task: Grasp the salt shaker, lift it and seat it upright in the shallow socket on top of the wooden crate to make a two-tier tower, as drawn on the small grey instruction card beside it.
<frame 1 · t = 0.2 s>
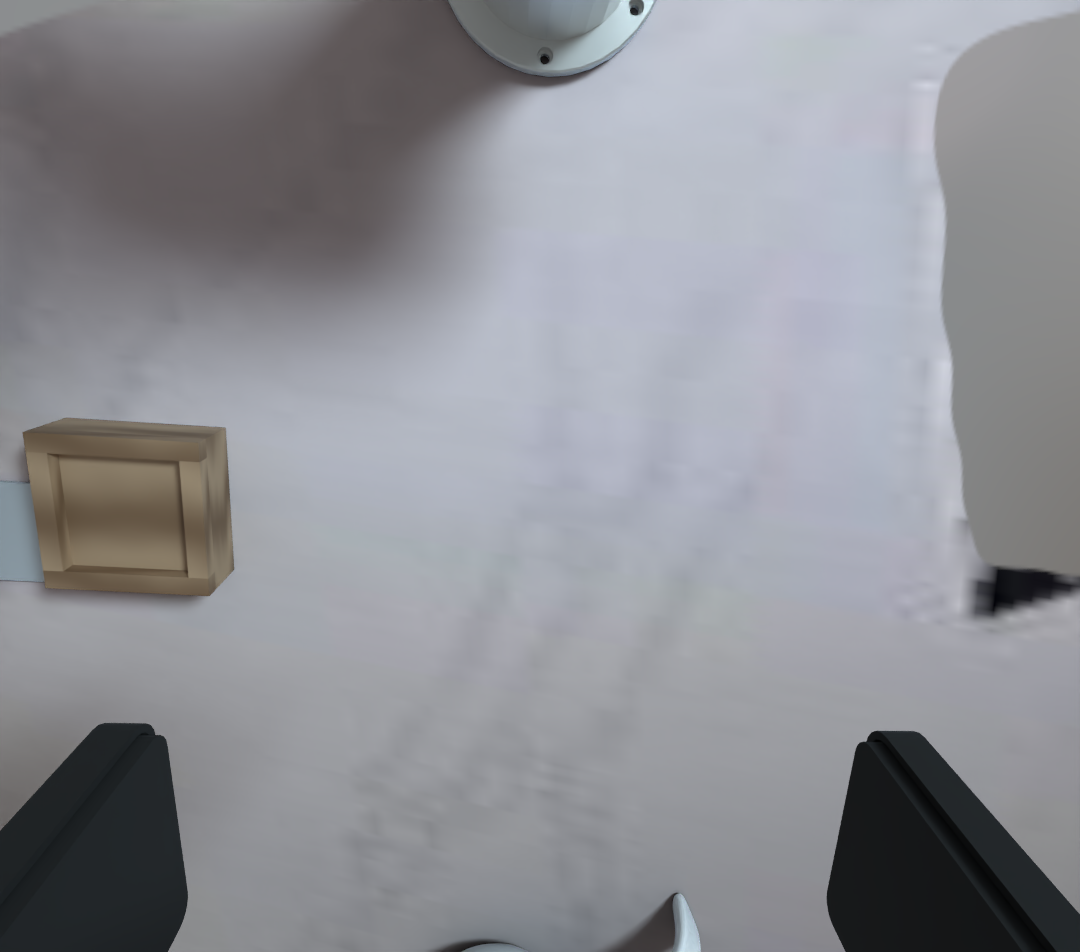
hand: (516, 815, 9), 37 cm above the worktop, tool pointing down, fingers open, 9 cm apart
wooden crate: (152, 496, 46), on the worktop
spoon rest: (557, 945, 59), on the worktop
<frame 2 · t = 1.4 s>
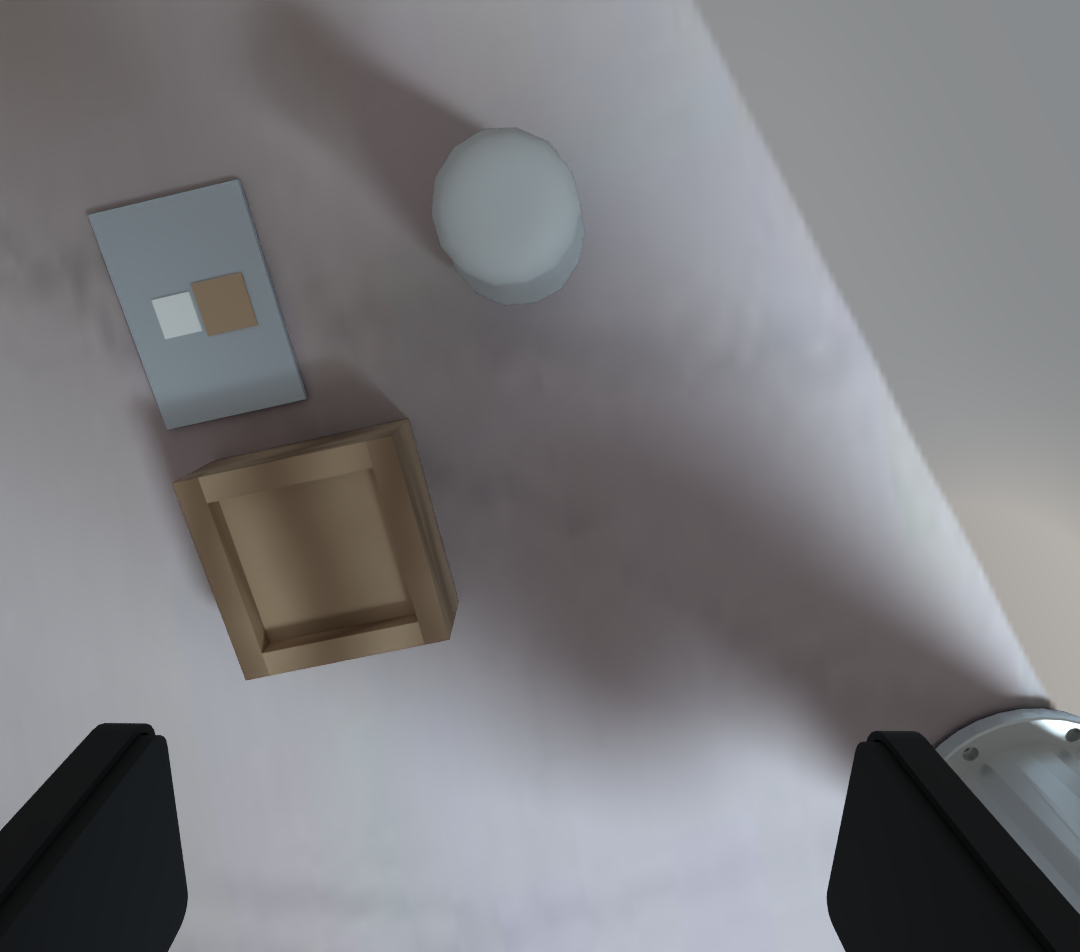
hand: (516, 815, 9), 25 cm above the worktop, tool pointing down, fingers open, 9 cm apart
wooden crate: (339, 533, 35), on the worktop
salt shaker: (517, 238, 32), on the worktop
instruction card: (203, 310, 32), on the worktop
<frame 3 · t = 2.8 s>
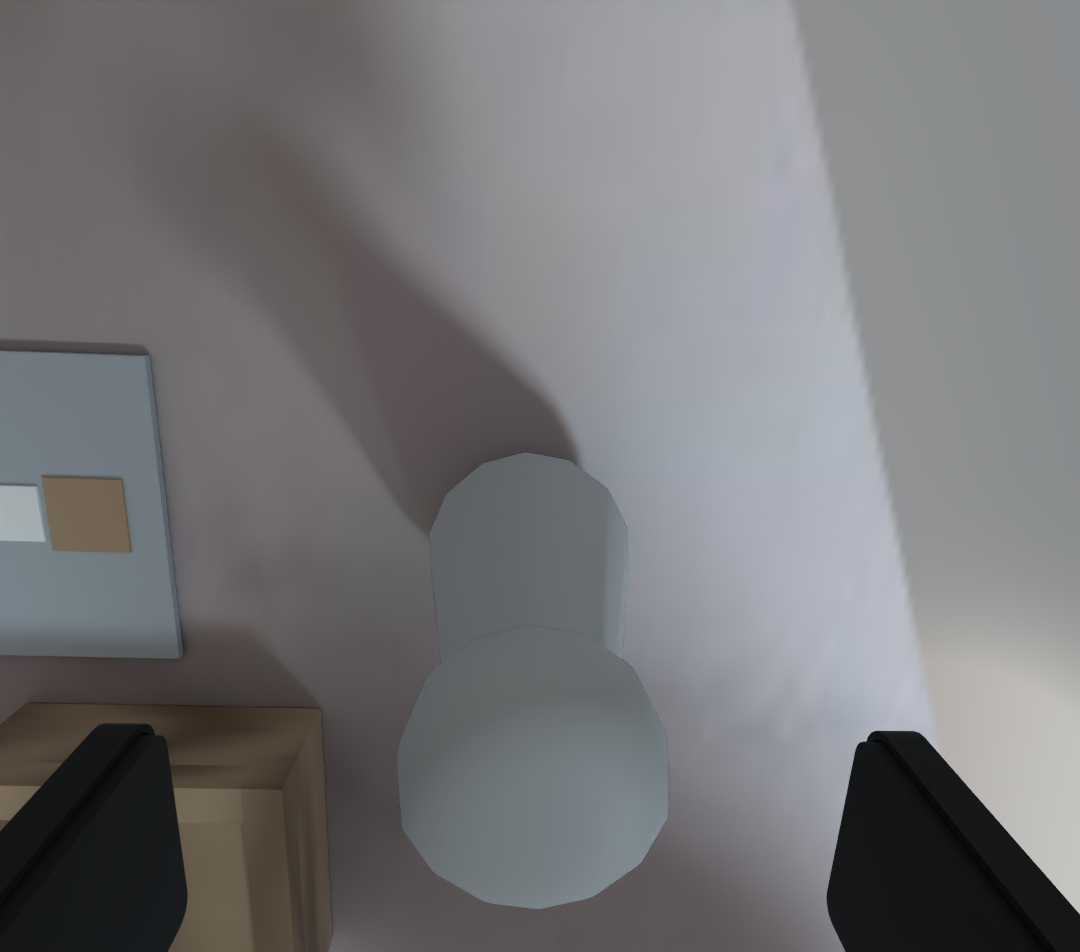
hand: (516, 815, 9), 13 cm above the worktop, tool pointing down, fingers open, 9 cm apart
wooden crate: (188, 825, 25), on the worktop
salt shaker: (528, 521, 22), on the worktop
instruction card: (55, 510, 22), on the worktop
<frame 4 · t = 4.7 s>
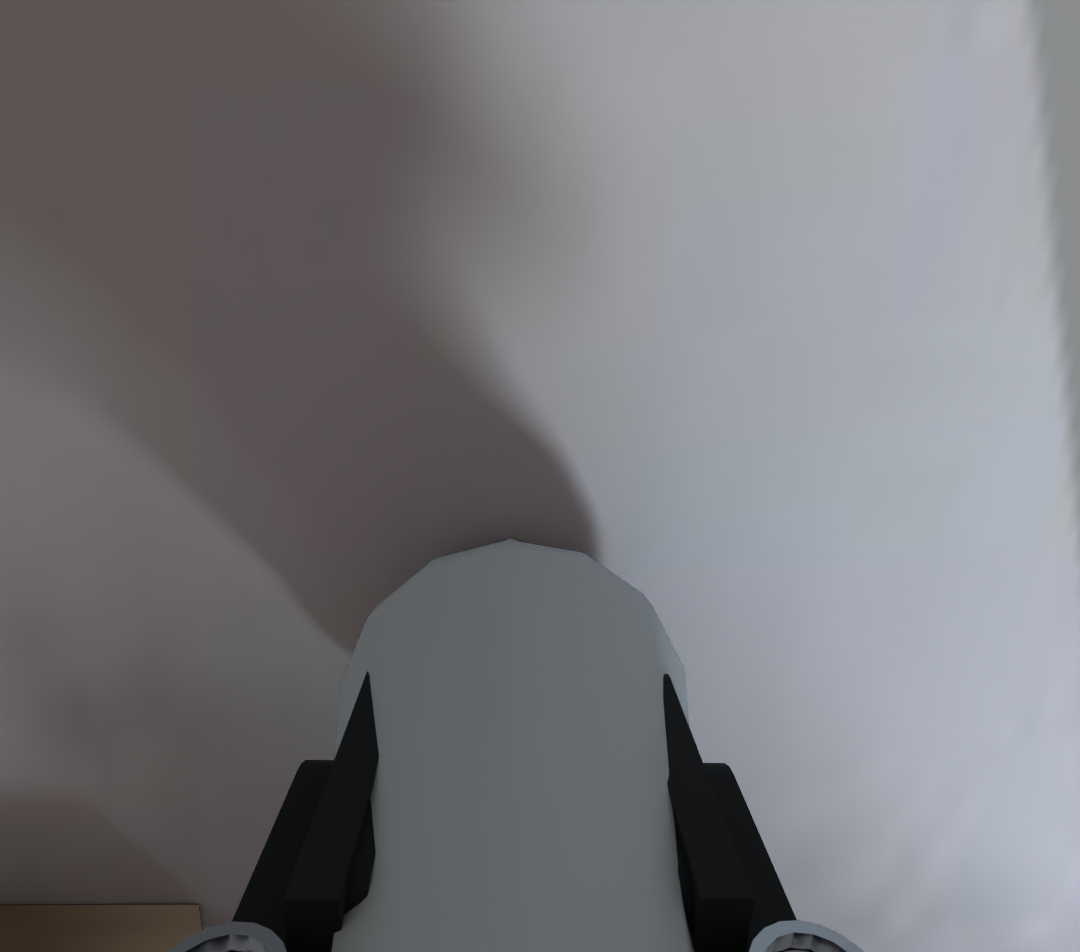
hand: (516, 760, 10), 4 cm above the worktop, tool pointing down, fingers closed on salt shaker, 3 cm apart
salt shaker: (515, 630, 14), on the worktop, touching gripper
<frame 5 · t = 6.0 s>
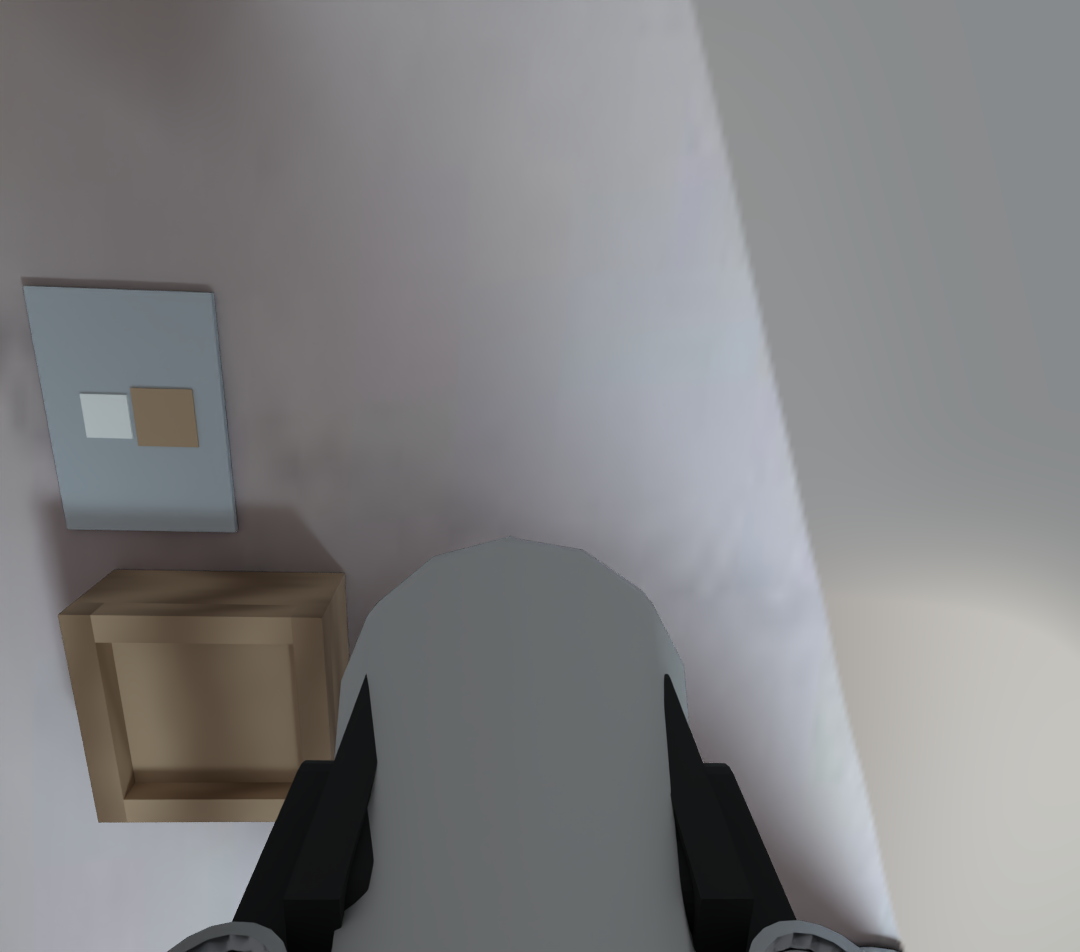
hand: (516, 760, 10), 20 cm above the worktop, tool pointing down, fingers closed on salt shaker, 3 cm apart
wooden crate: (241, 668, 32), on the worktop
salt shaker: (515, 627, 14), point 16 cm above the worktop, touching gripper
instruction card: (139, 415, 28), on the worktop
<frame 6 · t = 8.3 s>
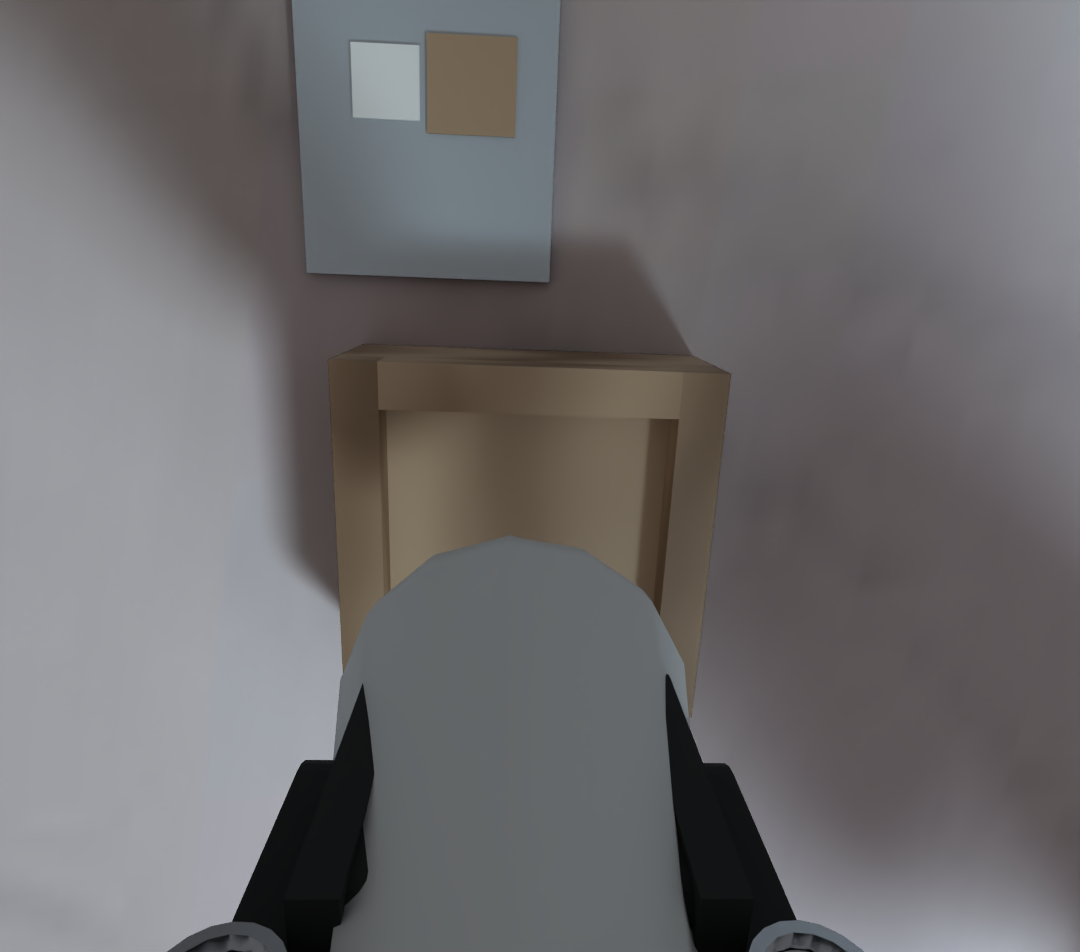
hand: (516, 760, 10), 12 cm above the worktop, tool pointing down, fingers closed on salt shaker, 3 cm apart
wooden crate: (524, 505, 22), on the worktop
salt shaker: (514, 627, 14), point 8 cm above the worktop, touching gripper
instruction card: (428, 87, 19), on the worktop
when the fingers open (7 cm above the worktop, at t = 9.8 s): salt shaker stays where it is, resting on wooden crate.
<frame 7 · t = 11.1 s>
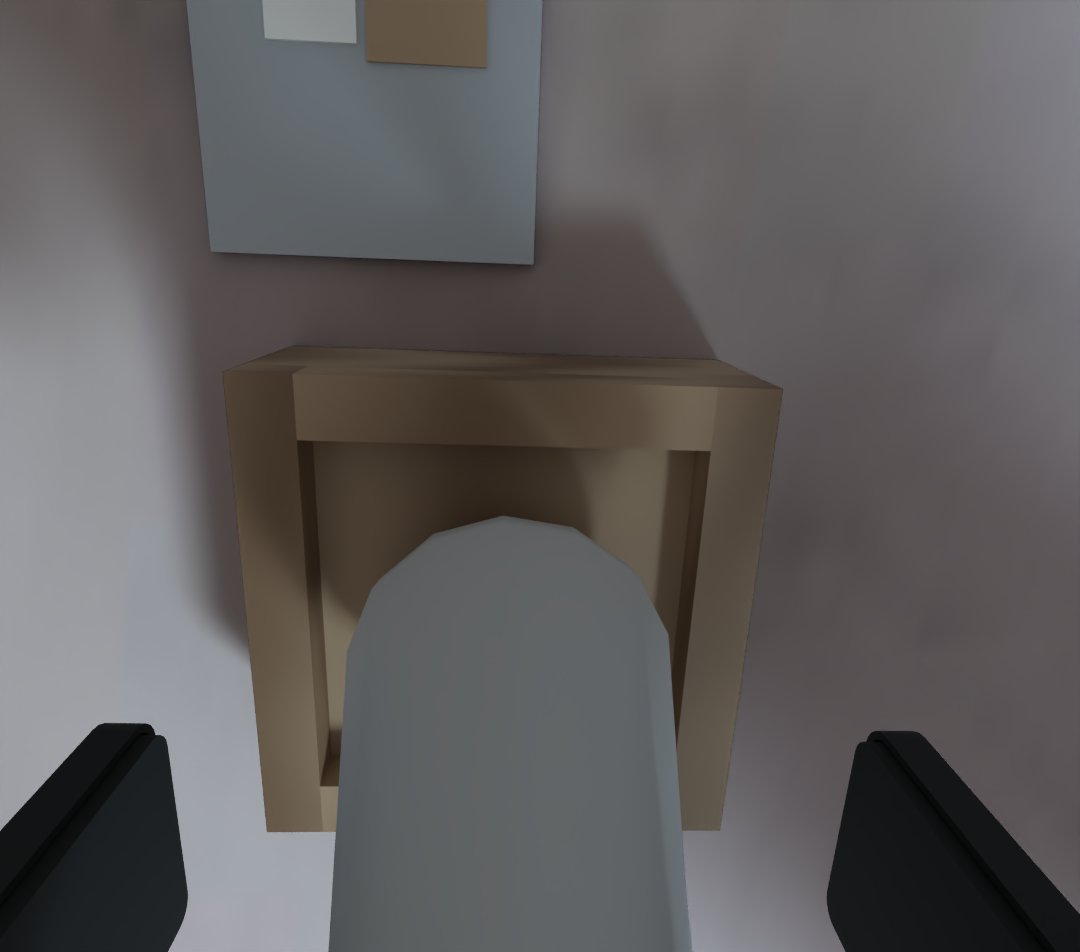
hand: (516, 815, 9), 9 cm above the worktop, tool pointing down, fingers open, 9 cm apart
wooden crate: (503, 550, 18), on the worktop
salt shaker: (510, 604, 15), point 3 cm above the worktop, touching wooden crate
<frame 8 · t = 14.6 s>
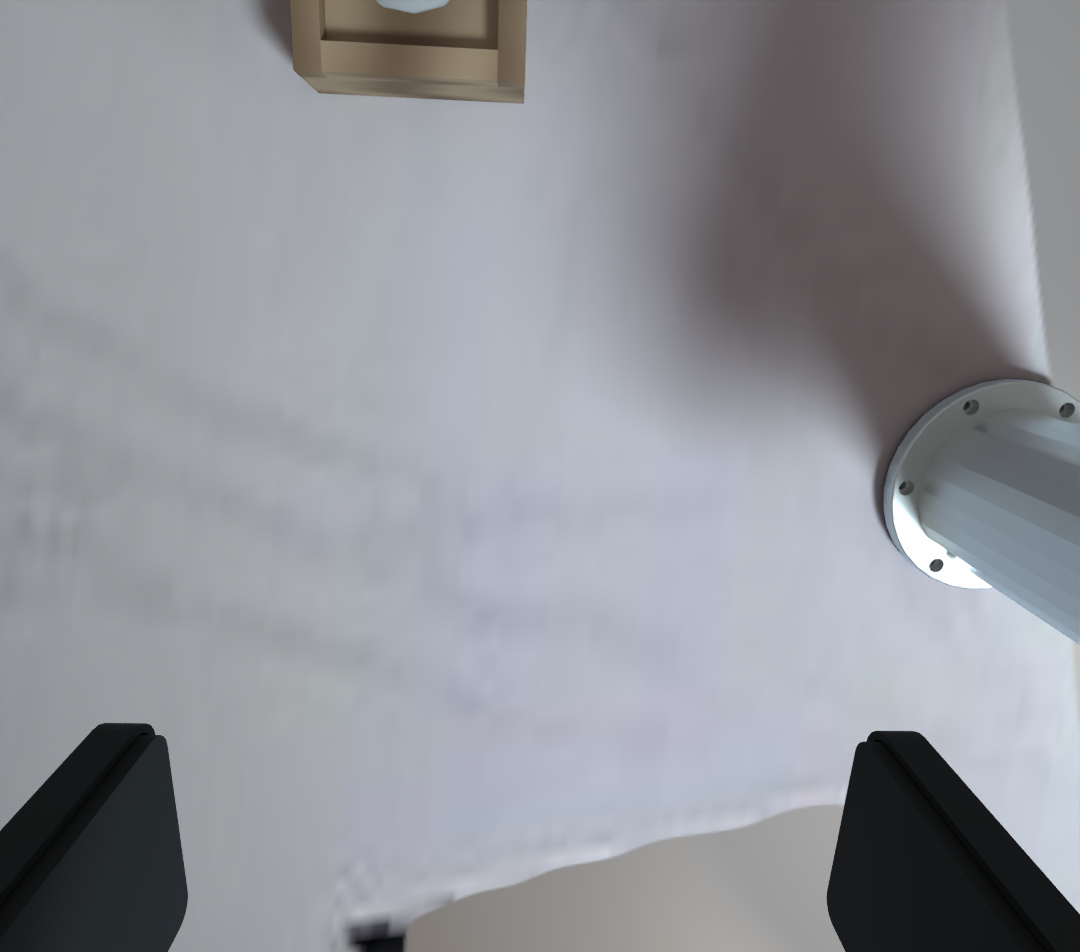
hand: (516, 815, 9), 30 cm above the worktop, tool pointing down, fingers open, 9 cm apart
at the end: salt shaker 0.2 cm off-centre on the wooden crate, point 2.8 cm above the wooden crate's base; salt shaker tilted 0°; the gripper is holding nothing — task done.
